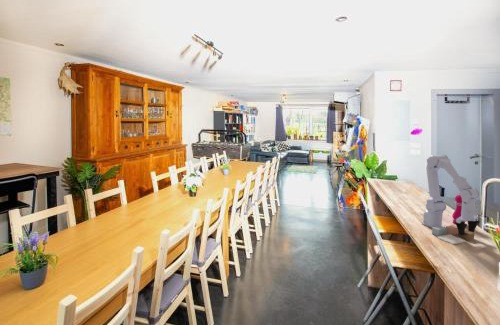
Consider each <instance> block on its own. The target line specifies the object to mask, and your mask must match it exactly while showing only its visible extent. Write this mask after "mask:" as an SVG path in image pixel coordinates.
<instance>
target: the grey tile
mask: <svg viewBox="0 0 500 325" xmlns="http://www.w3.org/2000/svg"><path fill="white" fill-rule="evenodd" d="M437 239H439V240H441V241H445V242H446V243H449V244H452V245H458V244H462V243H466V241H467V240H465V239H463V238H460V237H458V236H456V235H450V234H446V235H443V236H437Z"/></svg>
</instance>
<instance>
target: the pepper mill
mask: <svg viewBox="0 0 500 325" xmlns="http://www.w3.org/2000/svg"><path fill="white" fill-rule="evenodd" d="M454 200H455V205H456V206H455V210H454V211H453V213H452V215H451V216H452V219H453V220H452V223H453V225H456V224H455V221H456V219H457V218H459V217H461V210H462V197H461V196H460V194H457V195H456V196H455V197H454ZM464 223H465V224H466V222H464Z"/></svg>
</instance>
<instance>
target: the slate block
mask: <svg viewBox="0 0 500 325" xmlns="http://www.w3.org/2000/svg"><path fill="white" fill-rule="evenodd" d="M446 230H447V228H446V227H441V226H437V227H432V228H431V234H432V235H434V236H436V237H438V236H443V235H447V233H446Z"/></svg>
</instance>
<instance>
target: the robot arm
mask: <svg viewBox="0 0 500 325" xmlns="http://www.w3.org/2000/svg"><path fill="white" fill-rule="evenodd" d="M426 163H427V164H426V176H427V184H428V192H429V193H428V194H429V197H428V198H427V199H426V205H425V209H426V210H425V211H424V212H423V219H422V220H423V221H422V223H421V224H422V225H423V226H426V227H429V228H431V229H432V227H437V226H441V227H444V228H446V226H445V225H443V215H444V211H446V209H447V204H446V202H445V200H444V198H443V197H442V196H441V190H440V182H439V174H438V171H439V170H440V169H444V171H446V173H447V174H448V175H449V176H450V177H451V178H452V179H453V180H452V183H453V184H454V185H455V187H456V188H457V189H458V190H459V192H460V193H459V195H460V196H461V197H462V210H461V217H459V218H457V219H456V221H455V224H454V225H455V226H457V228H458V232H459V234H460V235H464V232H465V230H466V228H467V230H468V231H471V232H473V233H474V234H475V231H476V229H477V226H478V225H479V224H480V220H479V216H478V215H475V212H476V211H475V210H476V200H477V198H479V196H480V192H479V190H478V189H477V188H476V187H473V186H472V185H471V184H470V183H469V182H468V180H467V178H466V177H464V176H462V175H461V176H460V174H459V173H458V172H457V170H456V168H455V167H454V166H453V164H452V163H451V159H450V158H449V156H448V155H447V154H440V155H437V154H436V155H434V154H433V155H430V156H429V157H428V158H427V159H426ZM464 222H465V223H464ZM466 222H467V223H466Z"/></svg>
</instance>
